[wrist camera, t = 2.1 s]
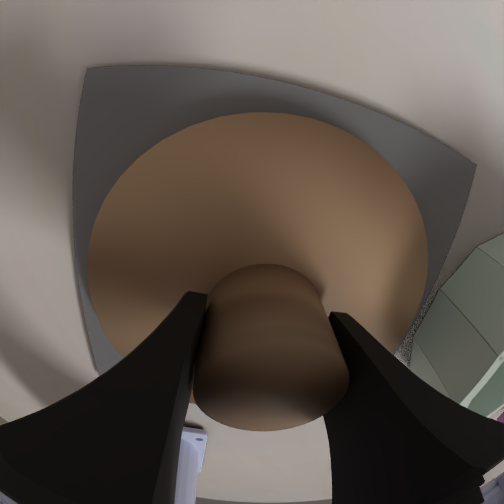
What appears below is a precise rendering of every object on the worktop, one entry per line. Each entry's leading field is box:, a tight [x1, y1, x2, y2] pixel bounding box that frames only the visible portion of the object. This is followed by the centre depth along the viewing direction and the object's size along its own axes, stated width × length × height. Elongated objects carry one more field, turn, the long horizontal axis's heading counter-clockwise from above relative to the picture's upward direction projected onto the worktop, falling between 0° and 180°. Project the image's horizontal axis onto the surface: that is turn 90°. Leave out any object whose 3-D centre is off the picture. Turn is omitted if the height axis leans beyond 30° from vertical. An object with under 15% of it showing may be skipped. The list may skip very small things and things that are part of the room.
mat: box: [73, 65, 477, 404], centre depth 10 cm, size 15×15×1 cm
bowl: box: [409, 233, 504, 418], centre depth 10 cm, size 11×11×5 cm
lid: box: [87, 112, 428, 431], centre depth 8 cm, size 13×13×4 cm
